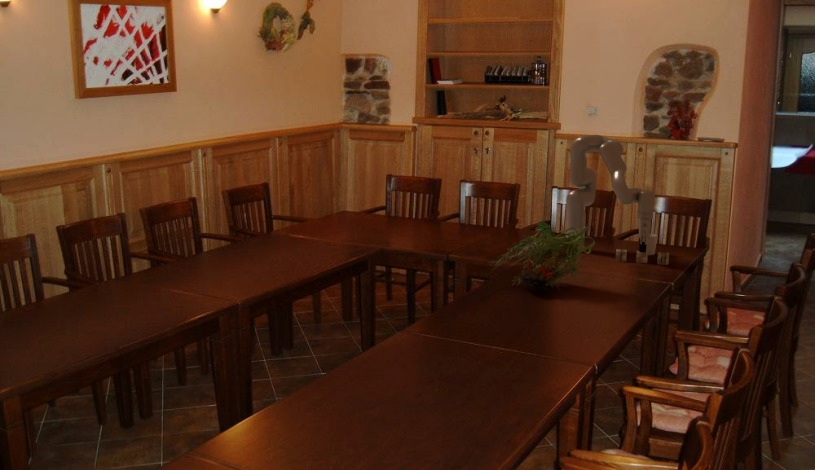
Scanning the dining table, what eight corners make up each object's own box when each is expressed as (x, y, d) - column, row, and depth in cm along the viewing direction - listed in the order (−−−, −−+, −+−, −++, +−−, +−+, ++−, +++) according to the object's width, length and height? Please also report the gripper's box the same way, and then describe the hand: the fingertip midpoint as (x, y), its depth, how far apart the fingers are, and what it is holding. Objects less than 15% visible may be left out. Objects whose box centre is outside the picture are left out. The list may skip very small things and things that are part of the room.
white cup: (657, 255, 433) (659, 236, 431) (642, 255, 434) (643, 236, 432) (653, 252, 441) (655, 233, 439) (638, 252, 441) (639, 233, 439)
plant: (483, 264, 372) (542, 216, 390) (534, 326, 369) (591, 275, 387) (516, 237, 341) (578, 186, 359) (572, 305, 338) (632, 250, 356)
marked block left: (615, 261, 420) (616, 251, 419) (615, 258, 425) (616, 249, 424) (625, 261, 419) (626, 251, 418) (625, 259, 424) (626, 249, 423)
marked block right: (657, 264, 415) (658, 254, 414) (657, 262, 420) (658, 252, 419) (668, 265, 414) (669, 255, 413) (667, 262, 419) (668, 252, 418)
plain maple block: (636, 262, 418) (637, 252, 417) (636, 260, 422) (637, 250, 421) (647, 263, 416) (647, 253, 415) (646, 261, 421) (647, 251, 420)
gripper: (653, 218, 407) (650, 255, 410) (652, 213, 421) (650, 249, 425) (637, 217, 409) (634, 254, 412) (637, 212, 423) (634, 248, 426)
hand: (642, 251), depth 418 cm, fingers closed
